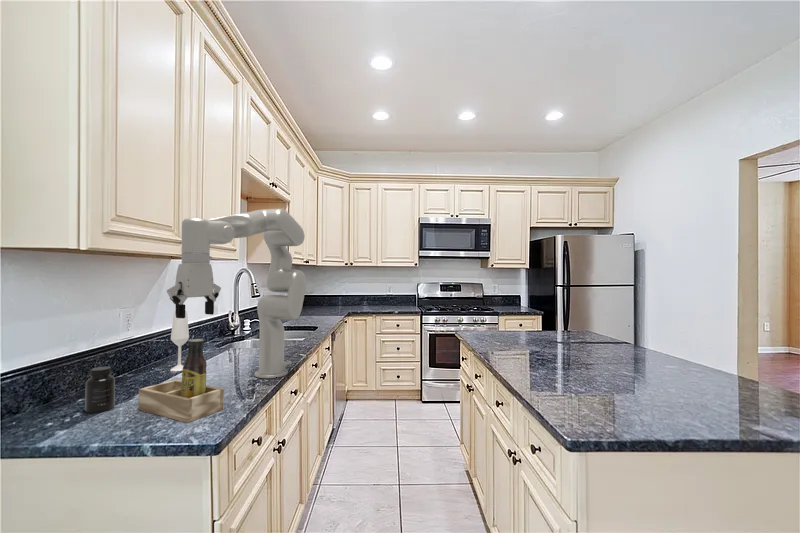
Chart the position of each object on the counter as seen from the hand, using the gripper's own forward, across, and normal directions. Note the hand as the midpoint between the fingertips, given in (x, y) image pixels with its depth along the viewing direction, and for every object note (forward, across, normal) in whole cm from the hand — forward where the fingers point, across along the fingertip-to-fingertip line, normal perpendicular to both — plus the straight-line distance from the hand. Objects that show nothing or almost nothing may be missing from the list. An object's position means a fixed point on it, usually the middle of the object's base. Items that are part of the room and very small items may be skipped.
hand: (195, 316), depth 115 cm
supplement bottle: (+27, +14, -22) cm, 38 cm away
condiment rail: (+27, +4, -1) cm, 27 cm away
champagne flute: (+28, -28, -45) cm, 60 cm away
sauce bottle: (+26, +4, +4) cm, 27 cm away
